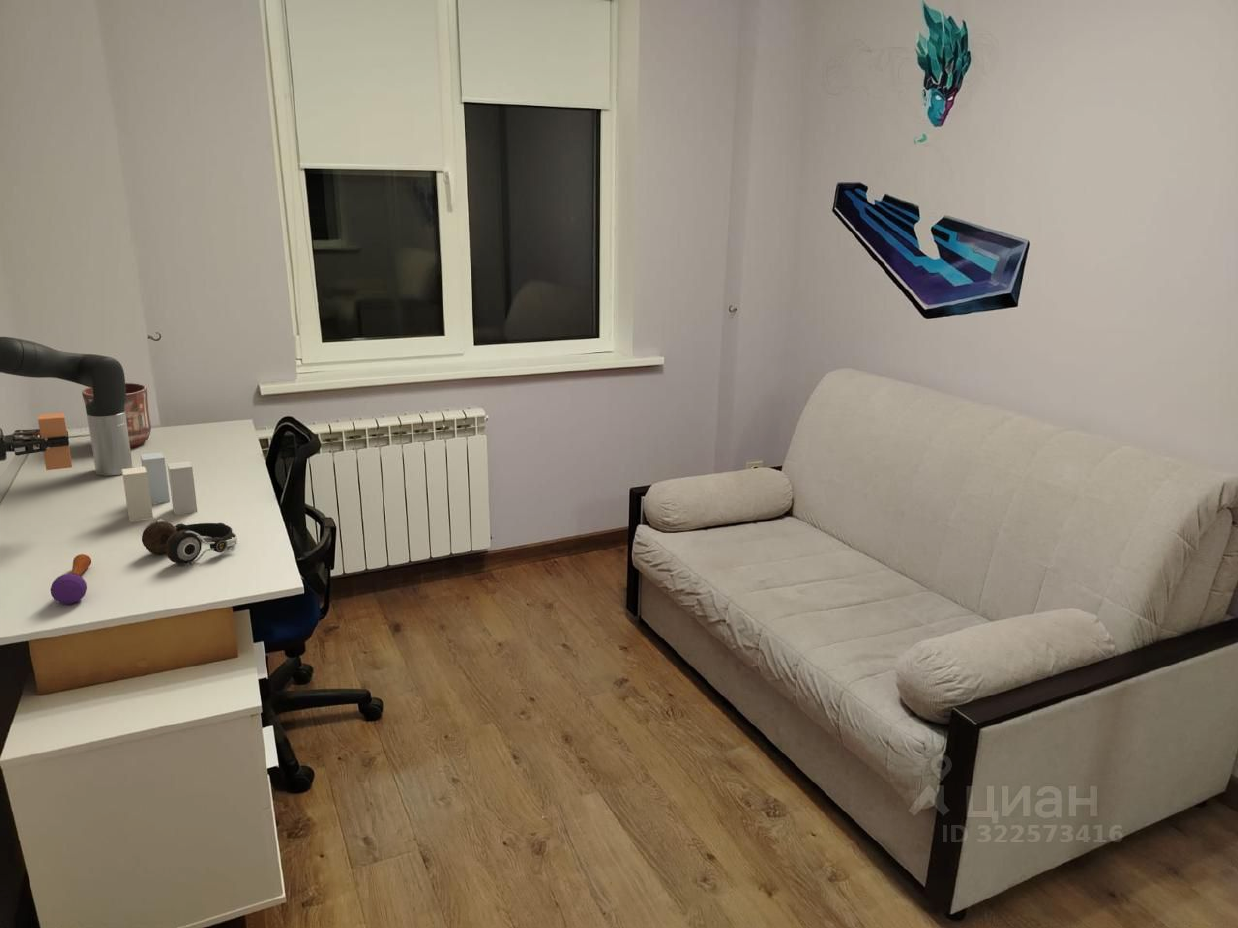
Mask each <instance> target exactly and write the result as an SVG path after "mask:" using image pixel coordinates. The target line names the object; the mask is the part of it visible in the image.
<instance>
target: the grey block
mask: <svg viewBox="0 0 1238 928" xmlns="http://www.w3.org/2000/svg"><path fill="white" fill-rule="evenodd" d="M166 466H167V472H168V479H169V480H168V481H169V486H170V494H171V495H170V497H171V503H172V504H171V505H172V510H173V511H174V515H175V516H177V515H183V514H184V515H185V514H190V513H197V512H198V505H197V504H198V503H197V496H196V487H195V479H194V478H195V477H194V471H193V470H194V469H193V466H192V463H191V462H190V461H189V460H188V461H179V462H172V463H170V462H169V463H167V465H166Z"/></svg>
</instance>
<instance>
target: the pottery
mask: <svg viewBox="0 0 1238 928" xmlns="http://www.w3.org/2000/svg"><path fill="white" fill-rule="evenodd" d="M125 387H126V402H125V405H124V408H125V416H126V422H127V429H128V437H129V444H130V449H134V448H138V447H140V446H142V445H144V444H145V443H146V442H147V440H149V437H150V435H151V429H152V425H151V418H150V413H149V403H148V387H147V386H146V385H143V384H140V383H134V382H133V383H132V382H131V383H130V382H125ZM81 393H82V394H81V395H82V399H83V401H84V402H83V403H84V405H85V407H86V404H87V403H88V402H91V401H92V400H93V388H91V387H86V388H85V389H83V390H82V391H81Z"/></svg>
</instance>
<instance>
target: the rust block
mask: <svg viewBox="0 0 1238 928" xmlns="http://www.w3.org/2000/svg"><path fill="white" fill-rule="evenodd" d="M65 418H66V417H65V413H64V412H54V413H52V412H51V413H42V414H41V413H40V414H37V423H38V428H39V429H40V435H41V438H44V437H46V438H48V439H49V437H60V436H67V431H68V430H67V426H66V419H65ZM46 450H47V451H45V452H42V453H43V457H44V458H43V460H44V464H45V469H46V471H51V470H59V469H61V470H62V469H69V468H73V465H72V464H73V463H72V457H71V451H70V450H71V449H70V444H69V445H68V446H60V447H50V448H49V449H46Z"/></svg>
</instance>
